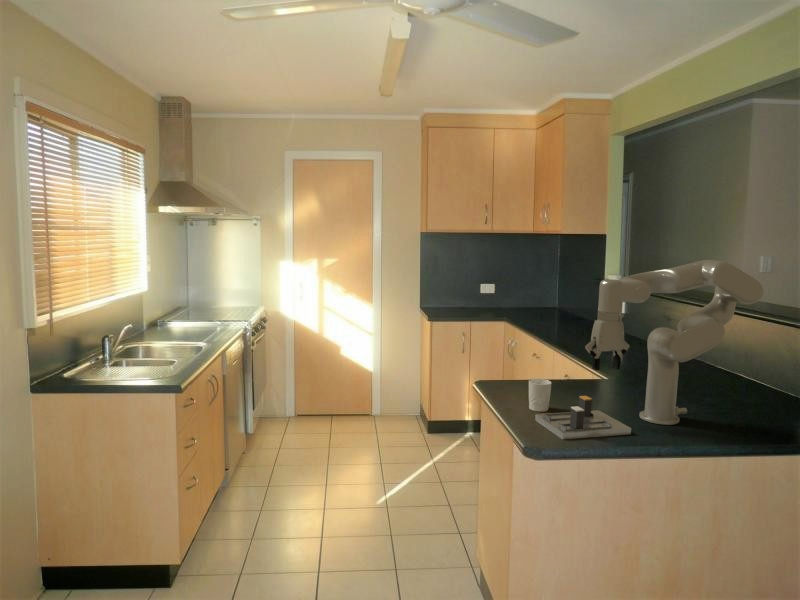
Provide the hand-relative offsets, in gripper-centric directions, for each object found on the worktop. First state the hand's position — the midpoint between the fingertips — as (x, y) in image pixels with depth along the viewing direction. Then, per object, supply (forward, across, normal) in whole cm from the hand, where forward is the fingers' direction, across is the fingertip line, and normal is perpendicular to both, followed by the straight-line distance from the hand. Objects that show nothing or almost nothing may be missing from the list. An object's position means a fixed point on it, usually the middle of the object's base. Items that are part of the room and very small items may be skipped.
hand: (606, 368), depth 197 cm
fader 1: (+16, +16, +10) cm, 25 cm away
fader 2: (+16, +7, 0) cm, 17 cm away
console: (+18, +11, +5) cm, 21 cm away
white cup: (+18, +16, -15) cm, 28 cm away
